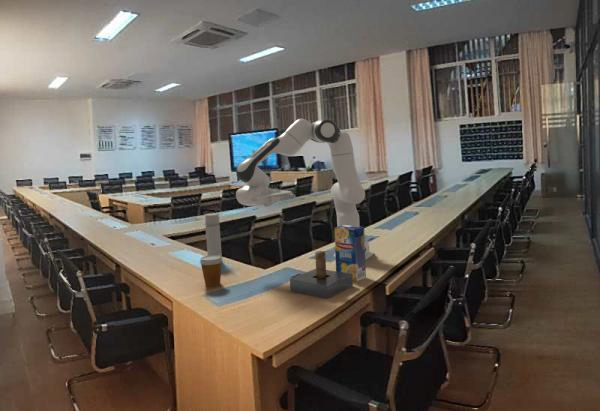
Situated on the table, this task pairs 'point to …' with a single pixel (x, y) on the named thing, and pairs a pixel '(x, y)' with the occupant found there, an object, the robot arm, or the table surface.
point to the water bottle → (213, 234)
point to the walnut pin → (320, 264)
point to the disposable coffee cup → (211, 270)
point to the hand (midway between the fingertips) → (287, 198)
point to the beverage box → (350, 251)
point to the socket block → (321, 283)
